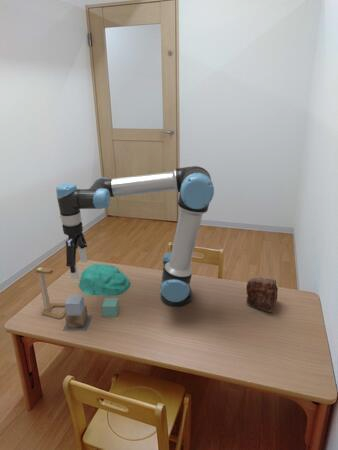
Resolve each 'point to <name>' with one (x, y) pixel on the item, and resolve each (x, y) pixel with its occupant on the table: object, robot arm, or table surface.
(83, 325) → the base block
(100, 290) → the decorative stone
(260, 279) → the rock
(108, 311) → the teal block
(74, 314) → the gray block
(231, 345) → the table surface
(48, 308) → the headphone stand
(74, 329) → the coaster
